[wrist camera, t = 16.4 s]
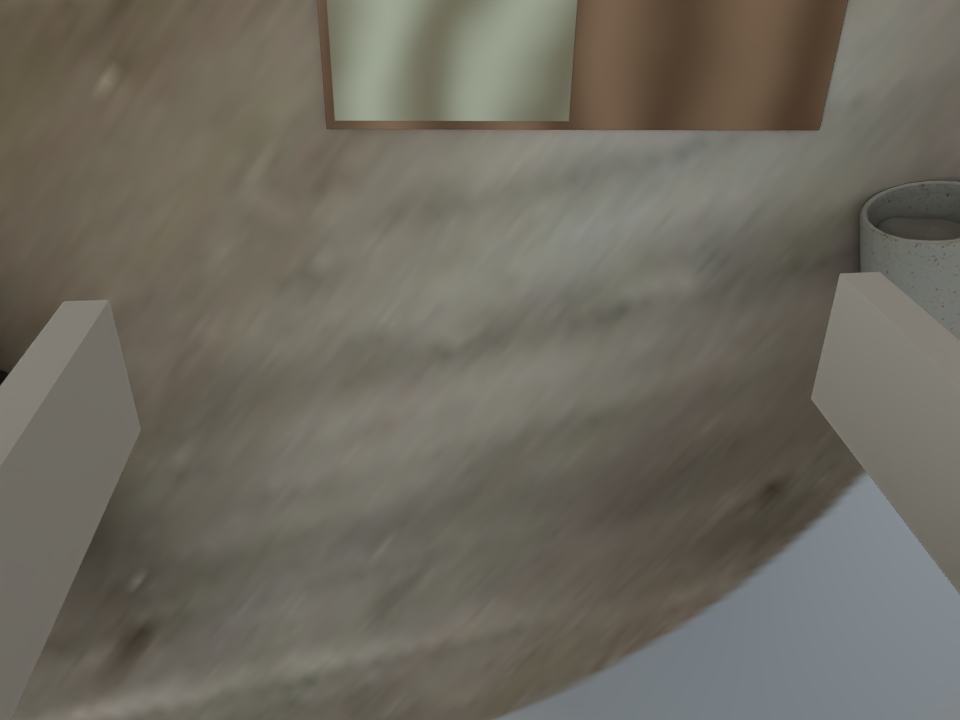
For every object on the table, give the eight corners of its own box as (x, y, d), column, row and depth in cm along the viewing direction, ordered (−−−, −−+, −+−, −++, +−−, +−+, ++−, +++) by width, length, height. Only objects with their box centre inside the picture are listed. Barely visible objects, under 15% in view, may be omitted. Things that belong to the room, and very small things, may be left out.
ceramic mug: (840, 314, 56) (898, 376, 50) (837, 199, 52) (899, 250, 45) (1004, 273, 55) (1084, 330, 49) (1013, 153, 51) (1102, 198, 45)
